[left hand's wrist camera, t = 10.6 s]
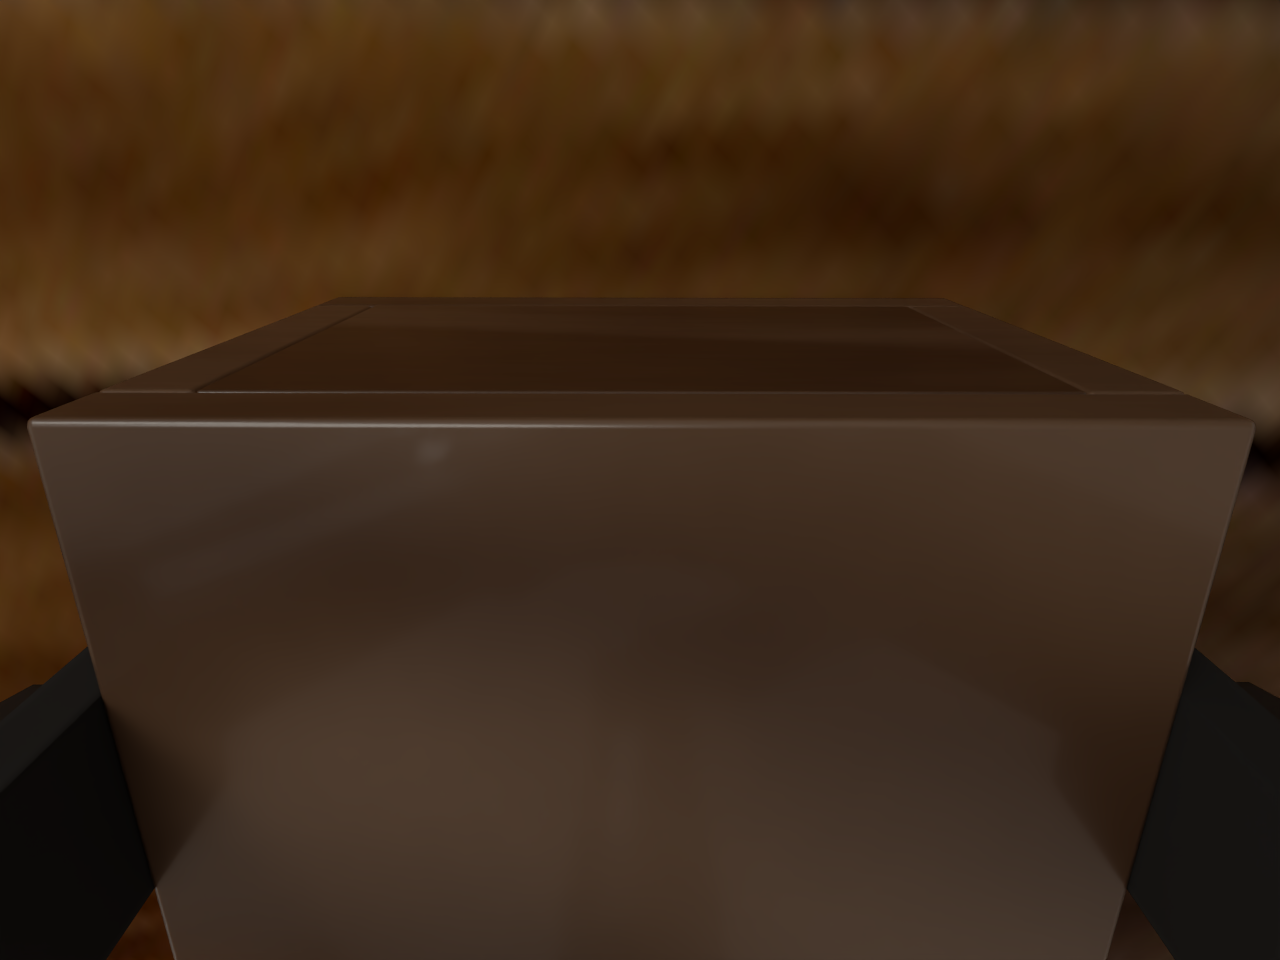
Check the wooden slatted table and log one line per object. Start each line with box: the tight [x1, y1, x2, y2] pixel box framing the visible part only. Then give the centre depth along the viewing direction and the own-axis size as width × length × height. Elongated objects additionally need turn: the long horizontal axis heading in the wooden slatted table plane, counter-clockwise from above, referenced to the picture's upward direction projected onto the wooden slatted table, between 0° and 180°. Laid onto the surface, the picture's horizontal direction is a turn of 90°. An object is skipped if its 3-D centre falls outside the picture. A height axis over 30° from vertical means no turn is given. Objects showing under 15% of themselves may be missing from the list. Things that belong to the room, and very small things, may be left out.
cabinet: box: [27, 297, 1256, 960], centre depth 15 cm, size 20×12×8 cm, turn 0°
